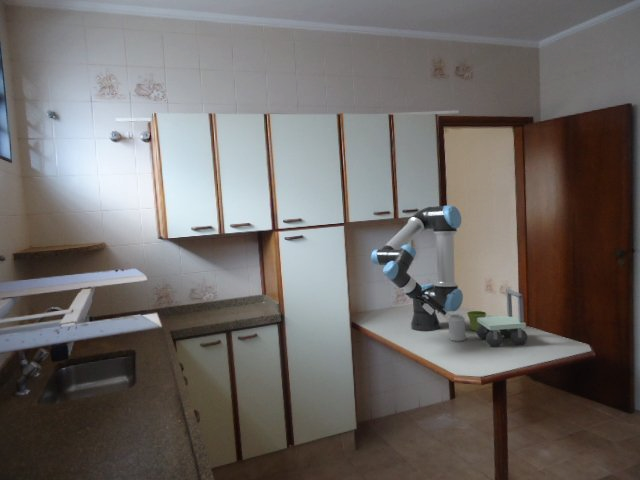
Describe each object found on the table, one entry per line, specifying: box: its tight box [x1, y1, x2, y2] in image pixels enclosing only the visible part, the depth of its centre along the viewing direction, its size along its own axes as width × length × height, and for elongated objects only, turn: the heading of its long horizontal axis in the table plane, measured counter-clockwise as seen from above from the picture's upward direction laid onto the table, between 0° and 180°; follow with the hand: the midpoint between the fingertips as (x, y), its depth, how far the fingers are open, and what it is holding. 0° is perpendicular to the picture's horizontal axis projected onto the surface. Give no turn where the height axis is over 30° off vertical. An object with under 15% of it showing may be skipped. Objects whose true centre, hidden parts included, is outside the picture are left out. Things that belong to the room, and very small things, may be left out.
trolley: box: [476, 288, 528, 348], centre depth 212 cm, size 16×18×23 cm
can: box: [447, 313, 467, 343], centre depth 220 cm, size 8×8×12 cm
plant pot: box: [466, 310, 487, 332], centre depth 235 cm, size 9×9×9 cm
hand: (440, 315), depth 216 cm, fingers open, 13 cm apart
